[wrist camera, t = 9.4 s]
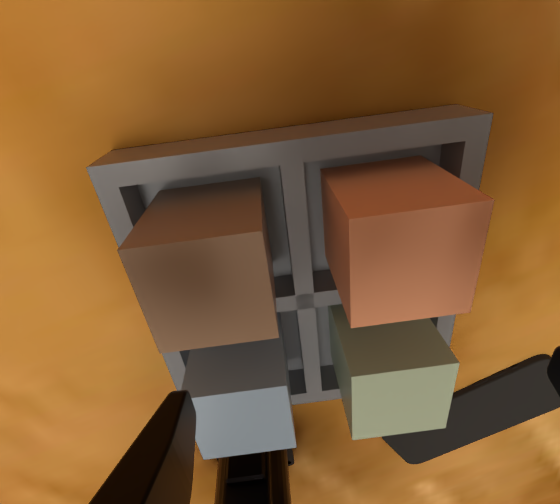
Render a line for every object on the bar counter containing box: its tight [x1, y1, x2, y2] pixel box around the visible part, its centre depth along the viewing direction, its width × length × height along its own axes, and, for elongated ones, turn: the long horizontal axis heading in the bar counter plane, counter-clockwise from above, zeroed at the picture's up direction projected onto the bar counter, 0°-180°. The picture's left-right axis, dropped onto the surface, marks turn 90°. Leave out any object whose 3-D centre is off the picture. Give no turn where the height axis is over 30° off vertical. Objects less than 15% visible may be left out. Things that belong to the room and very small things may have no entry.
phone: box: [382, 354, 560, 464], centre depth 29 cm, size 7×1×15 cm
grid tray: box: [86, 104, 493, 460], centre depth 18 cm, size 17×17×7 cm
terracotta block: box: [320, 155, 494, 328], centre depth 15 cm, size 5×5×6 cm
